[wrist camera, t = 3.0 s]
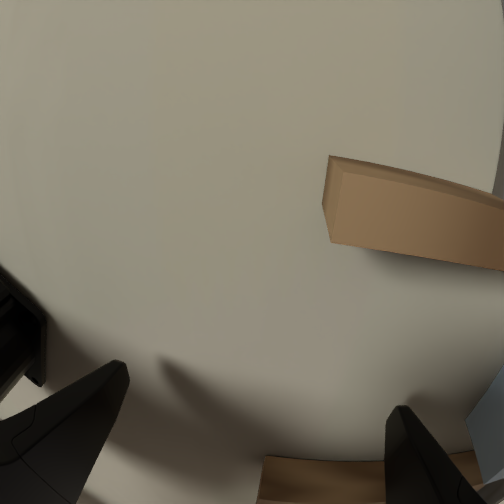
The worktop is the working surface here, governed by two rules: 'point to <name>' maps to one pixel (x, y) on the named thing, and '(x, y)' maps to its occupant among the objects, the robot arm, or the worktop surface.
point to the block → (489, 430)
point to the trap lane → (405, 242)
